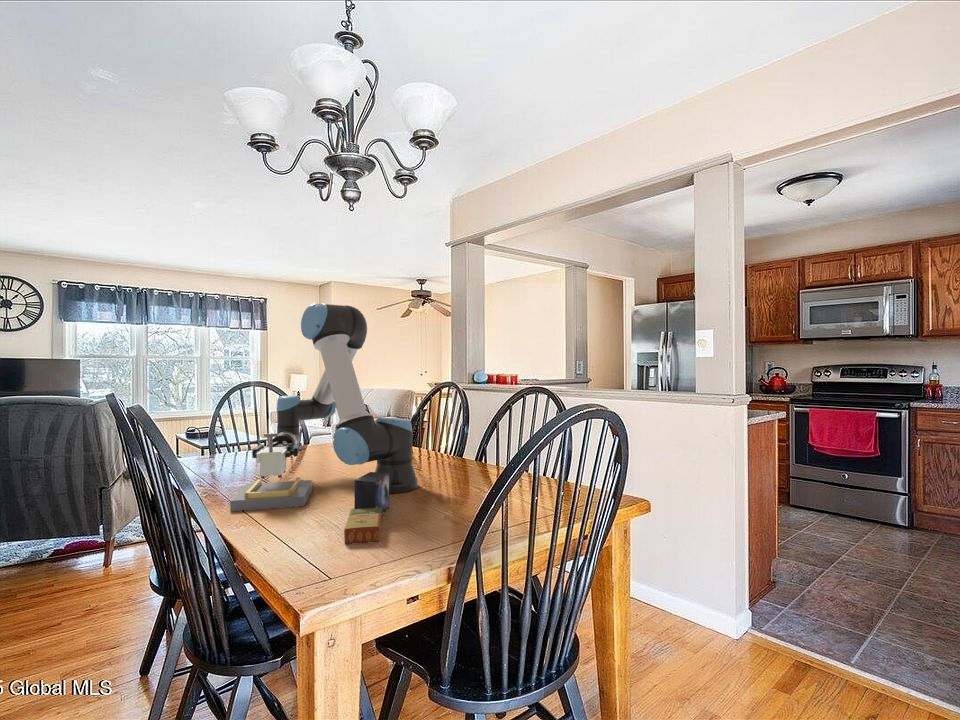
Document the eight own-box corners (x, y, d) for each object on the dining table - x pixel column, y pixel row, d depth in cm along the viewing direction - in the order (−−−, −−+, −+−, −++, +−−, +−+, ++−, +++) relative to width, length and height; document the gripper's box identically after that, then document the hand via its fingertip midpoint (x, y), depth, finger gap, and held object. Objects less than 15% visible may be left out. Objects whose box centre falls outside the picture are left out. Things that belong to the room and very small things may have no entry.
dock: (312, 489, 171) (312, 475, 171) (304, 506, 151) (303, 491, 151) (247, 493, 167) (247, 479, 167) (230, 511, 147) (230, 495, 147)
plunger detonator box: (286, 471, 164) (286, 429, 164) (281, 478, 155) (280, 433, 155) (266, 472, 163) (265, 429, 163) (260, 479, 154) (259, 434, 154)
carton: (343, 546, 120) (343, 528, 120) (350, 524, 136) (350, 507, 136) (380, 543, 122) (379, 525, 122) (382, 522, 138) (382, 506, 138)
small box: (376, 520, 138) (375, 481, 138) (353, 518, 140) (352, 480, 139) (390, 508, 149) (390, 472, 148) (369, 507, 150) (369, 471, 150)
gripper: (312, 454, 179) (303, 468, 156) (254, 456, 175) (235, 471, 152) (312, 432, 178) (303, 444, 156) (253, 434, 175) (235, 446, 152)
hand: (270, 457), depth 154 cm, fingers closed on plunger detonator box, 6 cm apart
